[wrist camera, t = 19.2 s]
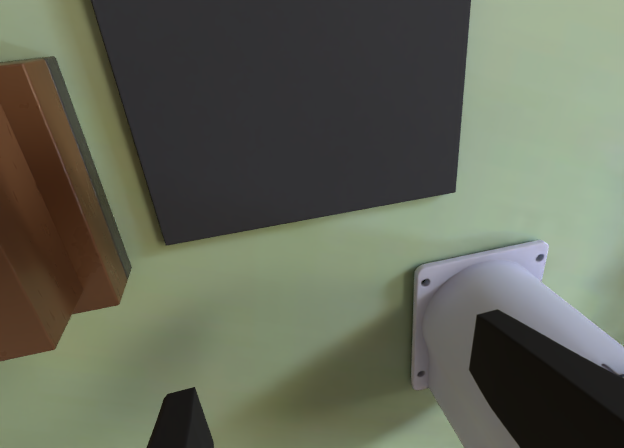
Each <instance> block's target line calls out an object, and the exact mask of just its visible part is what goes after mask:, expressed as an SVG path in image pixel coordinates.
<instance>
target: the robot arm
mask: <svg viewBox="0 0 624 448" xmlns="http://www.w3.org/2000/svg"><path fill="white" fill-rule="evenodd" d="M548 249H549V245H548V244H547V243H546V242H544V241H543V240H536V241H531V242H526V243H522V244H517V245H512V246H507V247H503V248H498V249H493V250H488V251H484V252H479V253H474V254H469V255H465V256H460V257H455V258H450V259H446V260H441V261H436V262H431V263H427V264H423V265H420V266H419V267H417V269H416V270H415V273H414V302H413V333H412V364H411V385H412V387H413V388H414V389H415V390H422V389H426V388H429V389H430V390H431V392H432V394H433V395H434V397H435V399H436V401H437V402H438V404H439V406H440V407H441V409H442V411H443V412H444V414H445V416H446V417H447V419H448V421H449V423H450V424H451V426H452V428H453V429H454V431H455V433H456V434H457V436H458V438H459V440H460V441H461V443H462V445H463V446H464V448H624V347H623V346H622V345H621V344H619V343H618V342H617V341H616V340H614V339H613V338H612V337H610V336H609V335H608V334H607V333H605V332H604V331H603V330H602V329H600V328H599V327H598V326H597V325H595V324H594V323H593V322H592V321H590V320H589V319H588V318H586V317H585V316H584V315H583V314H581V313H580V312H579V311H578V310H576V309H575V308H574V307H573V306H571V305H570V304H569V303H567V302H566V301H565V300H564V299H562V298H561V297H560V296H559V295H557V294H556V293H555V292H554V291H552V290H551V289H550V288H548V287H547V286H546V285H545V284H543V283H542V282H541V281H542V277H543V272H544V267H545V263H546V258H547V253H548ZM424 279H426V281H425V282H423V283H421V282H422V281H423V280H424ZM147 448H214V444H213V439H212V436H211V433H210V430H209V427H208V425H207V422H206V419H205V416H204V413H203V410H202V407H201V404H200V401H199V398H198V395H197V392H196V389H195V387H193V388H189V389H185V390H181V391H177V392H174V393H170V394H167V395H166V397H165V398H164V400H163V403H162V406H161V409H160V412H159V415H158V418H157V421H156V424H155V426H154V429H153V432H152V435H151V437H150V440H149V443H148V445H147Z"/></svg>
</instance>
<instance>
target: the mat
mask: <svg viewBox="0 0 624 448" xmlns="http://www.w3.org/2000/svg"><path fill="white" fill-rule="evenodd" d="M91 2H92V5H93V9H94V12H95V15H96V18H97V22H98V25H99V28H100V32H101V35H102V38H103V41H104V45H105V48H106V51H107V54H108V58H109V61H110V64H111V67H112V71H113V74H114V77H115V81H116V84H117V87H118V90H119V94H120V97H121V100H122V103H123V107H124V110H125V113H126V117H127V120H128V123H129V126H130V130H131V133H132V136H133V139H134V143H135V146H136V149H137V153H138V156H139V159H140V162H141V166H142V169H143V172H144V175H145V179H146V182H147V185H148V189H149V192H150V195H151V198H152V202H153V205H154V208H155V211H156V215H157V218H158V221H159V225H160V228H161V231H162V234H163V238H164V241H165V244H166V245H172V244H177V243H182V242H188V241H193V240H199V239H204V238H210V237H215V236H220V235H226V234H231V233H237V232H242V231H248V230H253V229H258V228H264V227H269V226H275V225H280V224H286V223H291V222H296V221H302V220H307V219H313V218H318V217H324V216H329V215H334V214H340V213H345V212H351V211H356V210H362V209H367V208H372V207H378V206H383V205H389V204H394V203H400V202H405V201H410V200H416V199H421V198H427V197H432V196H438V195H443V194H448V193H454V192H456V179H457V167H458V154H459V142H460V130H461V117H462V105H463V92H464V80H465V68H466V55H467V43H468V30H469V18H470V6H471V0H91Z"/></svg>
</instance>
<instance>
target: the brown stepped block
mask: <svg viewBox="0 0 624 448" xmlns="http://www.w3.org/2000/svg"><path fill="white" fill-rule="evenodd" d="M131 268H132V267H131V264H130V261H129V259H128V256H127V253H126V250H125V248H124V245H123V242H122V239H121V237H120V234H119V231H118V228H117V226H116V223H115V220H114V217H113V215H112V212H111V209H110V206H109V204H108V201H107V198H106V195H105V193H104V190H103V187H102V184H101V182H100V179H99V176H98V173H97V170H96V168H95V165H94V162H93V159H92V157H91V154H90V151H89V148H88V146H87V143H86V140H85V137H84V135H83V132H82V129H81V126H80V124H79V121H78V118H77V115H76V113H75V110H74V107H73V104H72V102H71V99H70V96H69V93H68V91H67V88H66V85H65V82H64V80H63V77H62V74H61V71H60V68H59V66H58V63H57V60H56V58H55V57H54V56H51V57H42V58H33V59H24V60H15V61H6V62H0V361H4V360H8V359H13V358H18V357H23V356H27V355H32V354H37V353H41V352H46V351H51V350H54V349H55V348H56V346H57V344H58V342H59V340H60V338H61V336H62V334H63V332H64V330H65V328H66V326H67V324H68V321H69V319H70V317H71V315H72V314H76V313H81V312H86V311H91V310H96V309H101V308H106V307H111V306H116V305H119V304H120V301H121V298H122V295H123V292H124V289H125V286H126V283H127V279H128V277H129V274H130V271H131Z"/></svg>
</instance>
